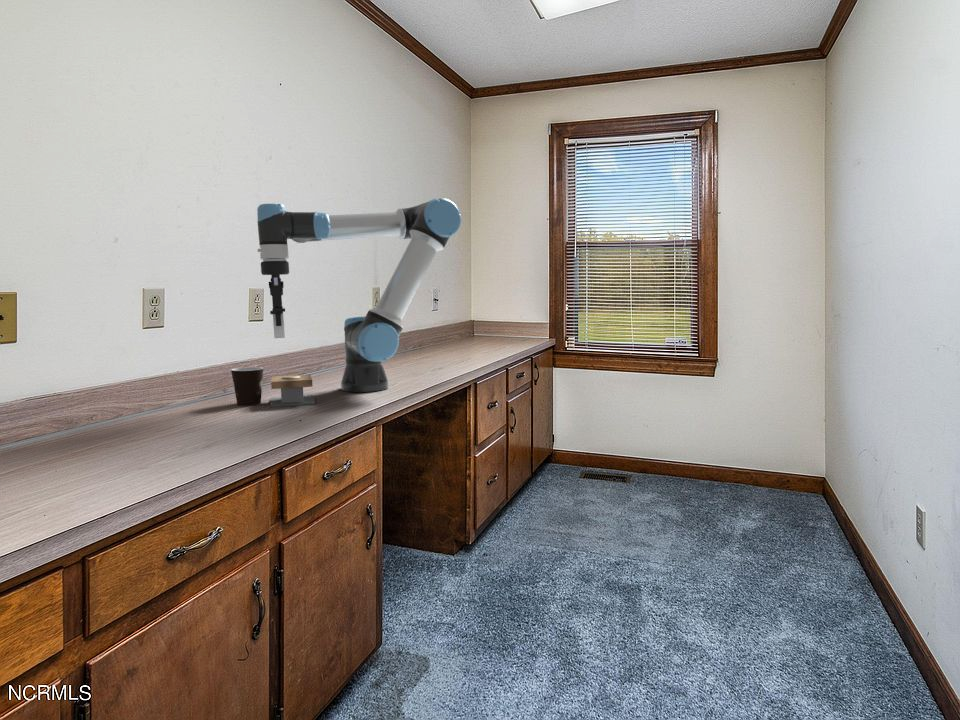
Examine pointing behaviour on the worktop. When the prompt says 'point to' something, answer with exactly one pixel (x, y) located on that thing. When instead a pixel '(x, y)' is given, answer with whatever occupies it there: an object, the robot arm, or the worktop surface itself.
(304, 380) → the lid
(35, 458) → the worktop surface
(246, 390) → the coffee mug
